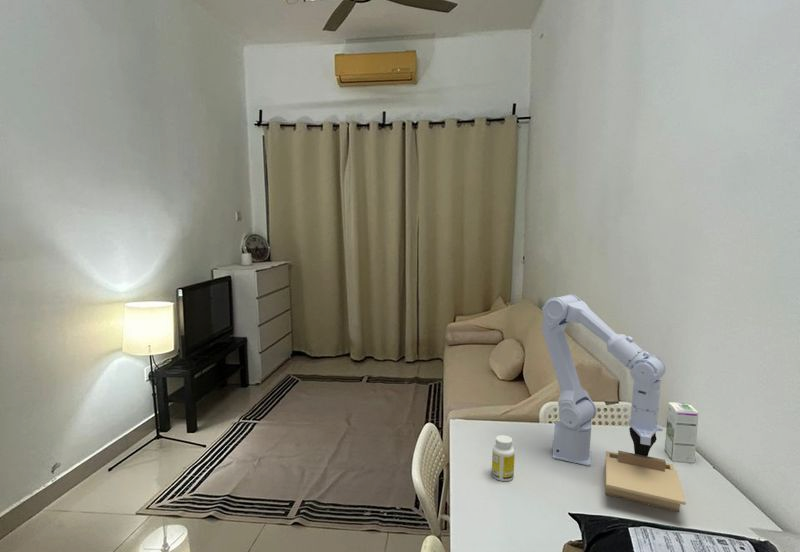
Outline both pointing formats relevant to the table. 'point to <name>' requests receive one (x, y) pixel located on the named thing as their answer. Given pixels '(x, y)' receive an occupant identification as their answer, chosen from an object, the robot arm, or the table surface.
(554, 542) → the table surface
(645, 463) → the lid
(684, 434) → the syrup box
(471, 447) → the table surface
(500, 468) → the supplement bottle
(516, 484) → the table surface
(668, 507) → the box
